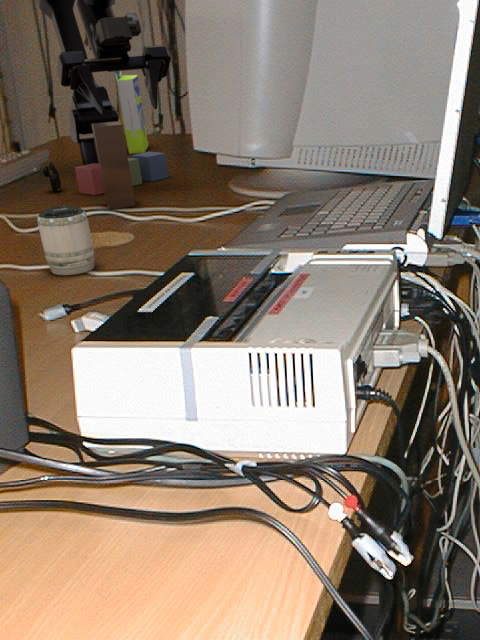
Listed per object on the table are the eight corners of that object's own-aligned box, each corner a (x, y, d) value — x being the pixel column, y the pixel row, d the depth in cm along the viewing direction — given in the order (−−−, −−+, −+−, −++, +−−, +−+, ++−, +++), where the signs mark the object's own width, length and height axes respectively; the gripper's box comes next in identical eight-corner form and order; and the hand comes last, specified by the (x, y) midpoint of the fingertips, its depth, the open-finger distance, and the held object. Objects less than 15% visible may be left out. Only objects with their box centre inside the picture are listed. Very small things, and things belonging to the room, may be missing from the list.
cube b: (126, 181, 174) (122, 157, 172) (142, 183, 172) (138, 158, 170) (108, 186, 171) (103, 161, 169) (124, 188, 169) (120, 162, 167)
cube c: (98, 188, 170) (94, 163, 167) (114, 190, 167) (110, 164, 165) (79, 193, 166) (74, 167, 164) (95, 195, 164) (90, 169, 162)
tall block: (106, 204, 157) (91, 123, 150) (132, 201, 158) (118, 121, 152) (109, 209, 153) (93, 126, 147) (136, 206, 154) (121, 124, 148)
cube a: (152, 175, 179) (149, 151, 177) (168, 177, 177) (165, 152, 175) (135, 179, 176) (131, 155, 174) (151, 181, 174) (147, 156, 171)
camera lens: (42, 269, 122) (28, 209, 118) (86, 260, 125) (74, 201, 121) (58, 279, 117) (44, 216, 113) (104, 269, 120) (92, 208, 116)
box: (145, 153, 203) (131, 68, 194) (127, 154, 203) (112, 69, 194) (149, 146, 212) (136, 64, 203) (131, 147, 212) (118, 65, 203)
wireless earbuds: (60, 194, 166) (54, 165, 163) (46, 195, 165) (40, 166, 163) (62, 187, 172) (56, 159, 169) (48, 188, 171) (42, 160, 169)
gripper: (47, -3, 145) (78, 86, 144) (160, -8, 152) (190, 76, 152) (45, 42, 155) (74, 126, 154) (151, 35, 163) (179, 115, 162)
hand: (130, 110), depth 155 cm, fingers open, 9 cm apart
